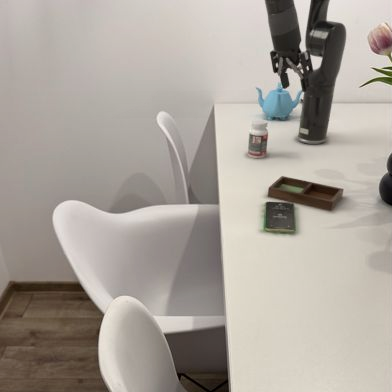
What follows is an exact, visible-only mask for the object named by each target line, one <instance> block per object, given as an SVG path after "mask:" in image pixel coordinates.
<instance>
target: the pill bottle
mask: <svg viewBox="0 0 392 392" xmlns="http://www.w3.org/2000/svg"><path fill="white" fill-rule="evenodd" d="M267 127H268V121H267V120H266V119H262V118H261V119H260V118H259V119H253V120H252V121H251V128H250V130H249V133H248V148H247V155H248V156H249V157H250V158H254V159H262V158H264V157H266V155H267V148H268V138H269V130H268V129H267Z"/></svg>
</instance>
